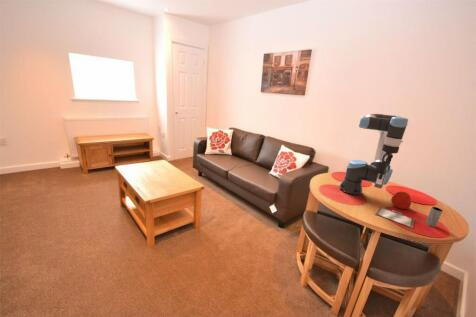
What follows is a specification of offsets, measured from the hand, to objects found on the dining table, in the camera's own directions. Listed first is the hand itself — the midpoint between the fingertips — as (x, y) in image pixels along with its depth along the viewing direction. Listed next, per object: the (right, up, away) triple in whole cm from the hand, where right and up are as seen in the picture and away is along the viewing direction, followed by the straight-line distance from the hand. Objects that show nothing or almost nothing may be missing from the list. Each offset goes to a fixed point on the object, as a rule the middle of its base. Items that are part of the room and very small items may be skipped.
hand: (379, 183), depth 124 cm
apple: (+22, -17, +13) cm, 31 cm away
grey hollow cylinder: (+26, -23, -5) cm, 35 cm away
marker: (0, -2, +1) cm, 3 cm away
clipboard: (+9, -20, 0) cm, 22 cm away
